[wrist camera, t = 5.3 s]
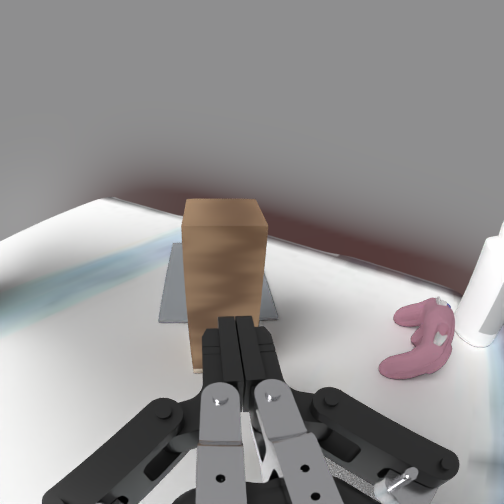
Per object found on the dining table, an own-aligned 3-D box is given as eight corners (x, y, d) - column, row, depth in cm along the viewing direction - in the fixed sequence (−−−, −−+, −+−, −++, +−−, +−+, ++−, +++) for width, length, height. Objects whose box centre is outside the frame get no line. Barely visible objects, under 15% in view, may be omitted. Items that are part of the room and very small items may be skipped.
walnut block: (193, 373, 22) (181, 226, 16) (193, 332, 27) (186, 199, 21) (253, 370, 23) (268, 225, 17) (246, 331, 28) (255, 199, 21)
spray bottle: (491, 356, 23) (558, 210, 15) (447, 334, 27) (505, 183, 19) (493, 326, 28) (544, 199, 19) (454, 307, 32) (499, 177, 23)
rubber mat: (277, 319, 29) (278, 317, 29) (158, 322, 28) (158, 320, 27) (253, 243, 44) (253, 242, 44) (173, 244, 42) (172, 243, 42)
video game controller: (402, 399, 22) (463, 364, 17) (372, 372, 22) (433, 331, 18) (415, 336, 29) (459, 301, 25) (390, 312, 30) (434, 274, 26)
